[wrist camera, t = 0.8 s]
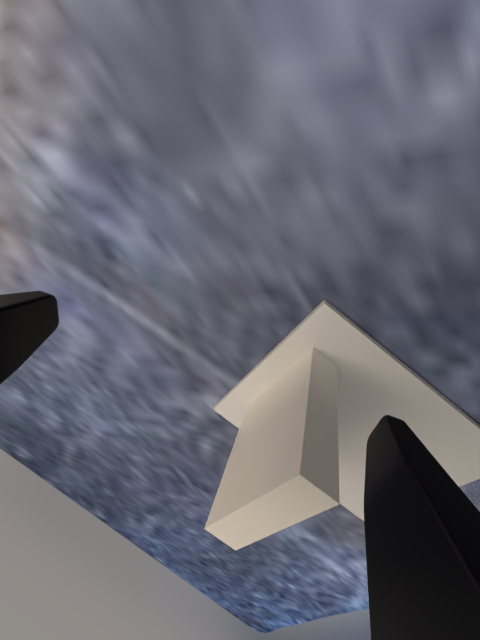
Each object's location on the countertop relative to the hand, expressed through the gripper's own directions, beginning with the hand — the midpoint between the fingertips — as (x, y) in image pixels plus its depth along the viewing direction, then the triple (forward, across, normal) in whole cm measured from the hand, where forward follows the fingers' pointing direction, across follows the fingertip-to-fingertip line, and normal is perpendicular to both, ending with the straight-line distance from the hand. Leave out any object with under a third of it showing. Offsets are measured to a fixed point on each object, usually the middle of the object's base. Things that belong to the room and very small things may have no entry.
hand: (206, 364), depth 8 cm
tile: (+12, -4, +10) cm, 17 cm away
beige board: (+13, -10, +12) cm, 20 cm away
